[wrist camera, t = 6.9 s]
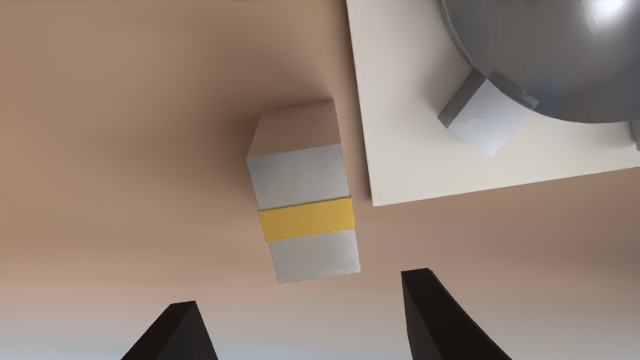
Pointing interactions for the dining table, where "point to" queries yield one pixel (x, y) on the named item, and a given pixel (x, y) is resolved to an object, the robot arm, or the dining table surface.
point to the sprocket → (542, 65)
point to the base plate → (430, 99)
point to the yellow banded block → (303, 192)
